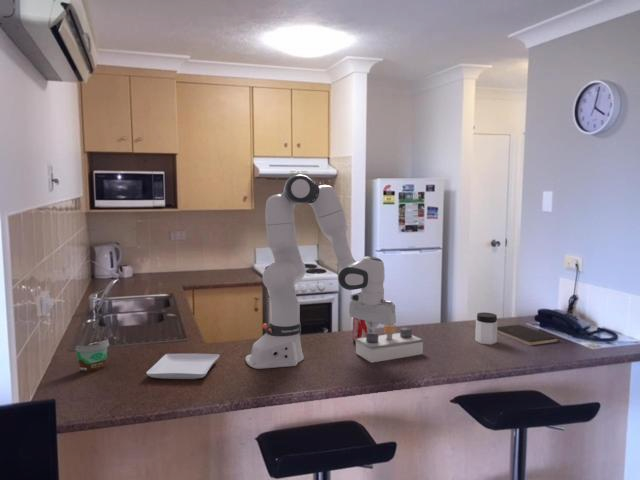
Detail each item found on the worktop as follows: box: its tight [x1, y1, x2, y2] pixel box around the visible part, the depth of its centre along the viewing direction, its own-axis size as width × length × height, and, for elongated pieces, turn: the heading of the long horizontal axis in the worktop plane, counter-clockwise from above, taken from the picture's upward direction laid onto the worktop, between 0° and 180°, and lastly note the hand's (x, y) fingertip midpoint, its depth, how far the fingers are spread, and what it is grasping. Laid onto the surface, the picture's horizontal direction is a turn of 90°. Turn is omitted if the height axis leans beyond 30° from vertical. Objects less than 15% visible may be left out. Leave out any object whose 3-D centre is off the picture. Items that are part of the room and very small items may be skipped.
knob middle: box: [382, 323, 397, 340], centre depth 197 cm, size 5×5×7 cm
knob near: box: [366, 331, 379, 343], centre depth 194 cm, size 5×5×7 cm
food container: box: [75, 336, 110, 373], centre depth 180 cm, size 12×6×10 cm, turn 148°
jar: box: [474, 311, 499, 346], centre depth 213 cm, size 9×8×12 cm
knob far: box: [399, 326, 413, 338], centre depth 201 cm, size 5×5×7 cm
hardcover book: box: [497, 324, 559, 346], centre depth 222 cm, size 16×23×2 cm
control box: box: [355, 332, 424, 363], centre depth 198 cm, size 24×12×6 cm, turn 115°
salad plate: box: [146, 353, 220, 380], centre depth 179 cm, size 21×21×3 cm
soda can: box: [352, 317, 368, 344], centre depth 212 cm, size 7×7×12 cm
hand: (371, 332), depth 193 cm, fingers closed
